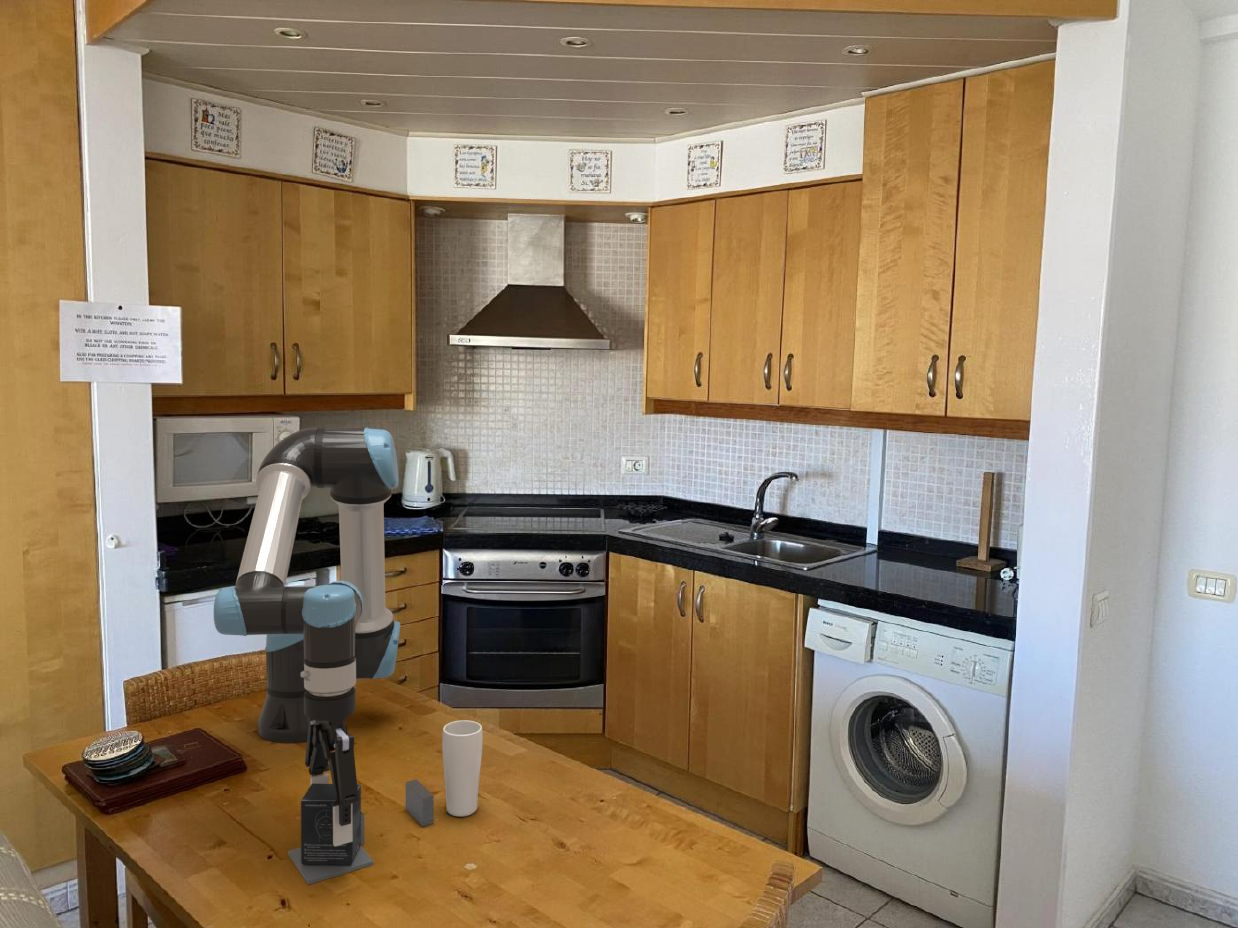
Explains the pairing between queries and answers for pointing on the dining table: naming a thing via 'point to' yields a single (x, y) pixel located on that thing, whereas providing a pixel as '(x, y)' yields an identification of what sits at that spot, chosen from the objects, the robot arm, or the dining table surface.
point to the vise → (415, 805)
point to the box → (326, 828)
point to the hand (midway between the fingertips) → (331, 828)
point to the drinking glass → (462, 766)
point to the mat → (328, 866)
